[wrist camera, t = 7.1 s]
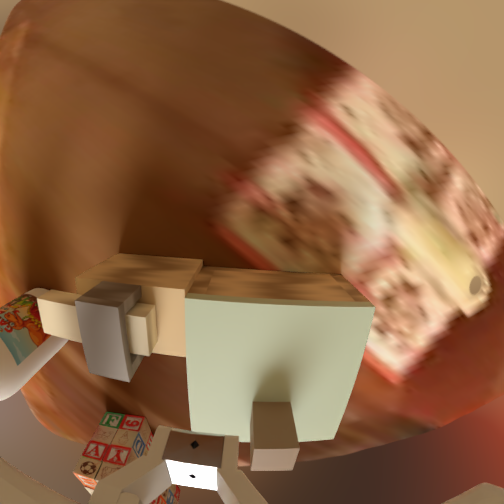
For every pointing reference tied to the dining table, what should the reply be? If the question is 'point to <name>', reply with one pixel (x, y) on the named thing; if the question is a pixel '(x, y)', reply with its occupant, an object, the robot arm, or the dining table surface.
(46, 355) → the milk bottle
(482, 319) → the dining table surface
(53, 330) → the wooden block
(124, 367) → the wooden cabinet
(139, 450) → the stack of blocks
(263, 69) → the dining table surface
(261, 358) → the lid
